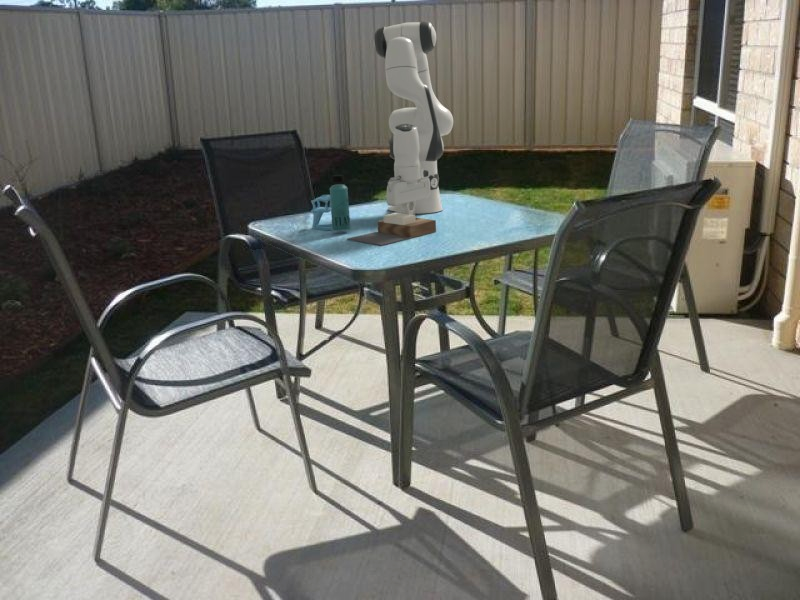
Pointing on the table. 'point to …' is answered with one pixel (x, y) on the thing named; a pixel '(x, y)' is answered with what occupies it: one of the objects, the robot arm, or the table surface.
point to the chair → (321, 213)
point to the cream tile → (399, 218)
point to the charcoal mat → (379, 238)
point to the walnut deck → (408, 228)
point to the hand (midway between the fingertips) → (409, 215)
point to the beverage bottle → (339, 204)
